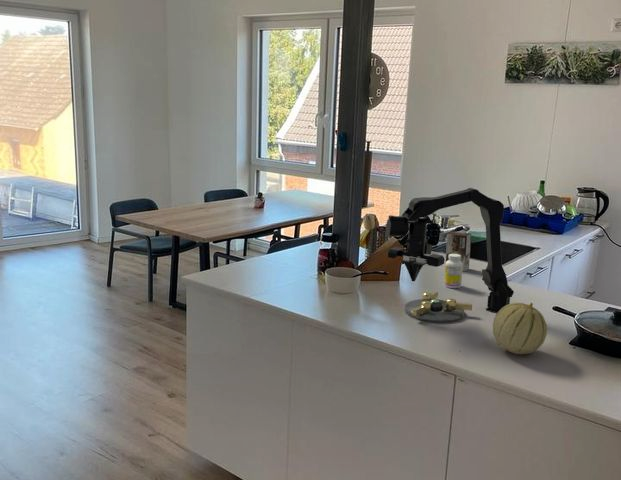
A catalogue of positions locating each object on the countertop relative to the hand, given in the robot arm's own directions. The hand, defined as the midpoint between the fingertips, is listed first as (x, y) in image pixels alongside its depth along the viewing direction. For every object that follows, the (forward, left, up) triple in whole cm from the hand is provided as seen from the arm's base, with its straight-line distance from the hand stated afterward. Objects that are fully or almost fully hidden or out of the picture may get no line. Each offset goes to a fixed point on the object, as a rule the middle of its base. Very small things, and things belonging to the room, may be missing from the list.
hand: (413, 281), depth 196 cm
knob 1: (-5, +2, -10) cm, 11 cm away
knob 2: (0, -12, -10) cm, 15 cm away
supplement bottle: (+6, -38, -12) cm, 41 cm away
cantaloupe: (-40, +6, -12) cm, 42 cm away
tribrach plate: (-5, -6, -12) cm, 14 cm away
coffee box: (+18, -63, -12) cm, 67 cm away
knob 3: (-12, -10, -10) cm, 19 cm away
